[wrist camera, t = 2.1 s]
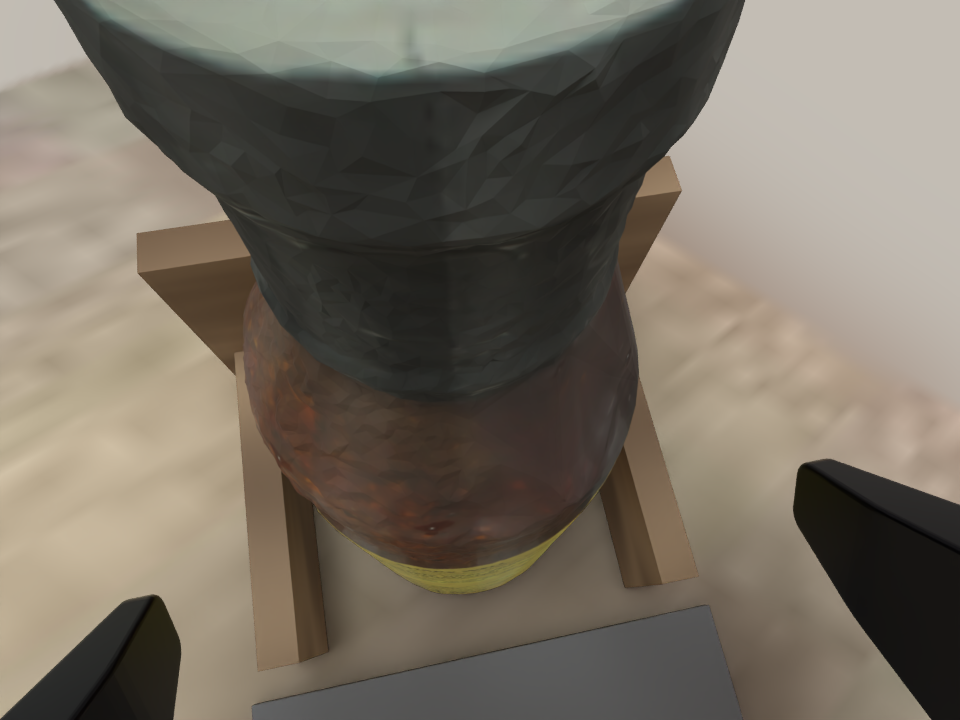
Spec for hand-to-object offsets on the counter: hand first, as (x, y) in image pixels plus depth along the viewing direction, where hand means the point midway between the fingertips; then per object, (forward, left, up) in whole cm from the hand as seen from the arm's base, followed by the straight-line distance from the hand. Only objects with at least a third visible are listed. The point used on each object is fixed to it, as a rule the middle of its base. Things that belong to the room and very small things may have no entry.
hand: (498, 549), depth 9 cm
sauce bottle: (+2, -2, -13) cm, 13 cm away
